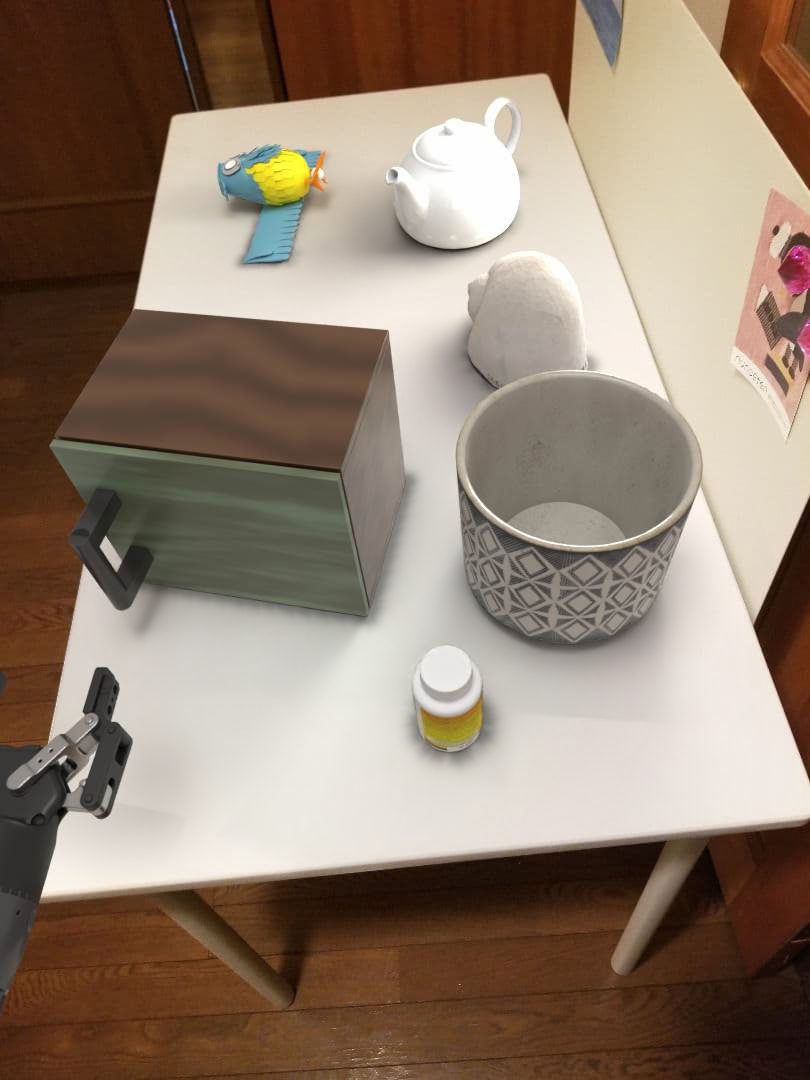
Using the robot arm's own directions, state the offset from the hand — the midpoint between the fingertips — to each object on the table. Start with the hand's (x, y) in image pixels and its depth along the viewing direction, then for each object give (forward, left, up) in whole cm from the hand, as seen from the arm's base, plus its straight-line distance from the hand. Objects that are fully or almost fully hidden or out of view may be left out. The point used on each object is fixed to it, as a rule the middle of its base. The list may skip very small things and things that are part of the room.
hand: (51, 671), depth 60 cm
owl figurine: (-18, +80, -13) cm, 83 cm away
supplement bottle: (+28, +9, -13) cm, 32 cm away
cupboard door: (+6, +14, -13) cm, 20 cm away
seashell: (+24, +57, -13) cm, 63 cm away
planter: (+34, +27, -13) cm, 45 cm away
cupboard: (+5, +25, -13) cm, 29 cm away
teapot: (+9, +82, -13) cm, 84 cm away
